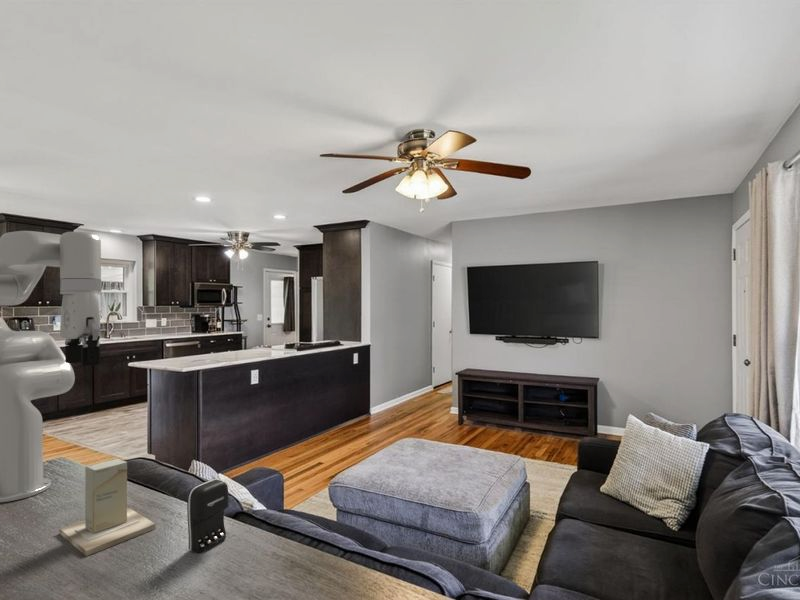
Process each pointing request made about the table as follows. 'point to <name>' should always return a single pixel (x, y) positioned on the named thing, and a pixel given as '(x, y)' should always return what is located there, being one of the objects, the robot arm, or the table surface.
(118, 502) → the skincare box
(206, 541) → the battery charger
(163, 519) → the table surface
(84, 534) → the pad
